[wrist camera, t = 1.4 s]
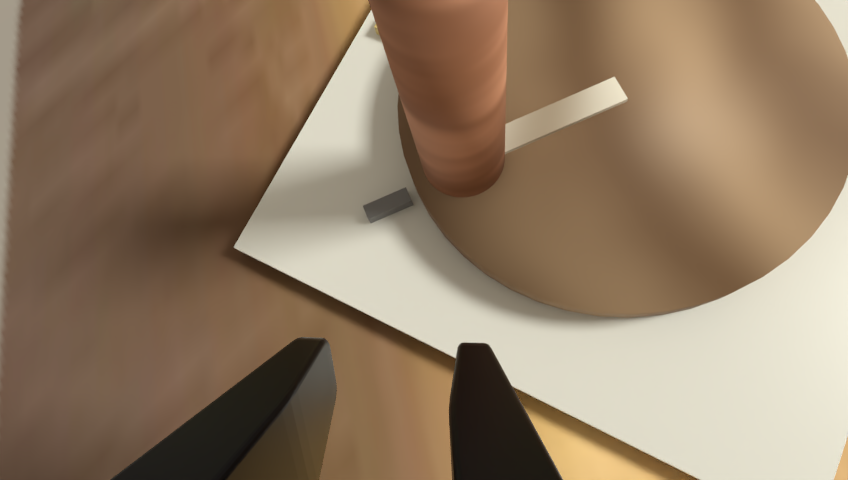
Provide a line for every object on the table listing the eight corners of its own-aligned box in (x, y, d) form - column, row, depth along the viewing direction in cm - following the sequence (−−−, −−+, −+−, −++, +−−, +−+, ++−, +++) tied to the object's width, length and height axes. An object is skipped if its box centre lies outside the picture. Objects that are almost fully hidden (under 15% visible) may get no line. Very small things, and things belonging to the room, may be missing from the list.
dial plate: (802, 531, 18) (824, 540, 17) (242, 252, 23) (227, 244, 22) (979, -13, 23) (1007, -37, 21) (472, -149, 28) (471, -175, 26)
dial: (693, -119, 24) (869, -599, 13) (937, 204, 20) (1583, -91, 8) (346, 32, 24) (208, -306, 13) (504, 391, 20) (512, 371, 8)
